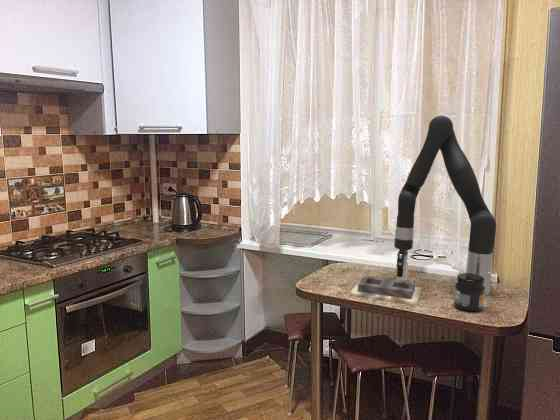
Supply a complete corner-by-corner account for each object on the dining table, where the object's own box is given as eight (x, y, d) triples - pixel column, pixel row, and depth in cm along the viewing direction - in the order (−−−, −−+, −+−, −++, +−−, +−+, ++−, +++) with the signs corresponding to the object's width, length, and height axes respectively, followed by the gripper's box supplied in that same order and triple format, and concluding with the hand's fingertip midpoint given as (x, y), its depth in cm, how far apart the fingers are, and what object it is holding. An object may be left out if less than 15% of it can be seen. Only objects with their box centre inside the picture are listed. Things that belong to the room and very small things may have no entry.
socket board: (421, 290, 199) (422, 280, 198) (417, 305, 182) (417, 295, 182) (359, 281, 208) (360, 272, 208) (349, 295, 192) (350, 285, 191)
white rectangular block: (406, 282, 208) (408, 262, 206) (405, 285, 204) (406, 265, 202) (397, 281, 209) (398, 261, 208) (395, 284, 206) (397, 264, 204)
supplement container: (487, 307, 182) (490, 276, 180) (477, 315, 174) (480, 283, 172) (459, 299, 189) (462, 270, 186) (448, 307, 181) (451, 276, 179)
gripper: (411, 242, 195) (407, 280, 198) (415, 234, 208) (412, 270, 211) (392, 239, 198) (389, 277, 201) (397, 232, 211) (394, 268, 214)
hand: (401, 273), depth 206 cm, fingers open, 8 cm apart
